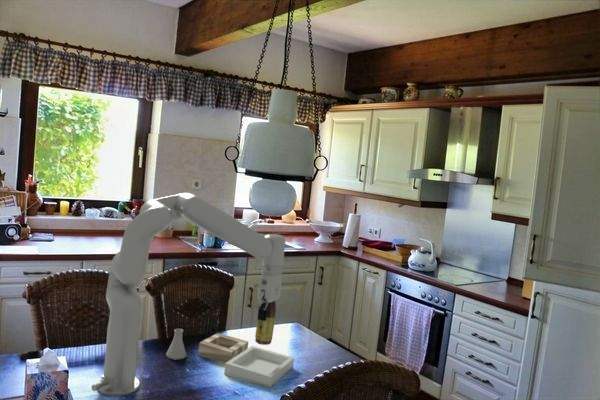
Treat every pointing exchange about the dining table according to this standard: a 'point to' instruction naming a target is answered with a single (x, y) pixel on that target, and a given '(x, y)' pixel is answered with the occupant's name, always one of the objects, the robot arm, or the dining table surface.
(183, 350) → the flask
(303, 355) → the dining table surface
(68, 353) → the dining table surface
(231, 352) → the shallow rimmed box
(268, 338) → the sauce bottle
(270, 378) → the tray
